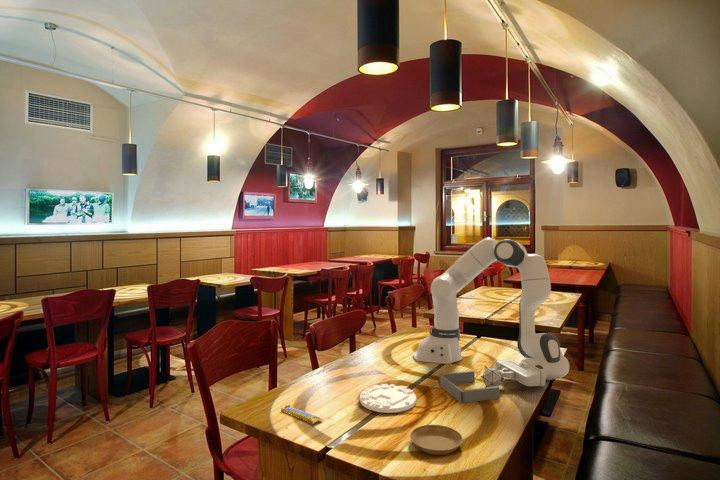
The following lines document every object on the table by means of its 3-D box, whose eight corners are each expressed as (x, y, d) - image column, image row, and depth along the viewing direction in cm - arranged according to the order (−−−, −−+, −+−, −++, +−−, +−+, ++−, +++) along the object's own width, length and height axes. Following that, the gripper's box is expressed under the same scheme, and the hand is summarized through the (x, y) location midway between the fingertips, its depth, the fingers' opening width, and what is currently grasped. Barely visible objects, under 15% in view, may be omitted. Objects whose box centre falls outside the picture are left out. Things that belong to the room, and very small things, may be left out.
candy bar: (279, 412, 147) (279, 407, 147) (288, 408, 150) (288, 403, 150) (314, 427, 137) (314, 421, 136) (323, 422, 140) (323, 416, 140)
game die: (495, 396, 167) (509, 374, 168) (495, 396, 159) (510, 373, 160) (474, 381, 170) (488, 360, 171) (474, 381, 163) (489, 358, 164)
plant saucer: (404, 453, 120) (404, 444, 120) (416, 429, 134) (416, 421, 134) (458, 463, 115) (458, 454, 115) (465, 437, 129) (465, 428, 129)
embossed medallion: (377, 420, 141) (377, 411, 141) (350, 398, 159) (350, 390, 158) (427, 407, 150) (427, 398, 150) (397, 387, 168) (396, 379, 168)
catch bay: (473, 380, 174) (473, 370, 173) (499, 398, 156) (499, 387, 156) (438, 384, 169) (438, 374, 169) (461, 403, 152) (461, 391, 152)
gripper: (513, 354, 180) (484, 357, 176) (548, 370, 160) (515, 374, 156) (513, 369, 180) (484, 373, 176) (548, 387, 161) (515, 392, 157)
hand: (499, 374), depth 166 cm, fingers closed, pressing on game die
